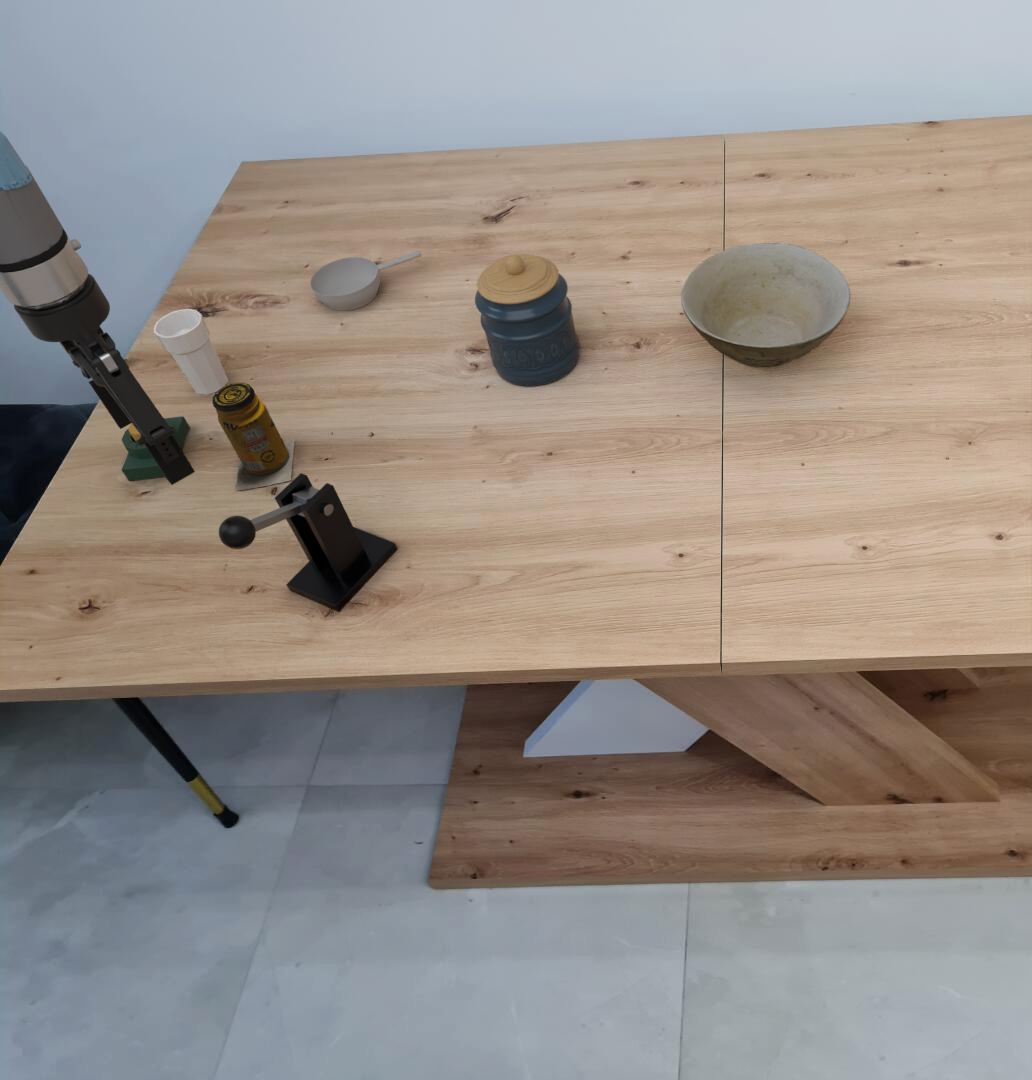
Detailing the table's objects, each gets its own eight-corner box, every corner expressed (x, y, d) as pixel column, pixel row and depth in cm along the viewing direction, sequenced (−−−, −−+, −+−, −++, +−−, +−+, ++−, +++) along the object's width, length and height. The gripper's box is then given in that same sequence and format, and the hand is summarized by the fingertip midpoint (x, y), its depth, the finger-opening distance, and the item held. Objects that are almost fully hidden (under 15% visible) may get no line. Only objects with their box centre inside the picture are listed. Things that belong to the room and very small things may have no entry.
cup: (179, 388, 156) (144, 328, 148) (215, 364, 159) (182, 304, 151) (206, 403, 153) (172, 342, 145) (242, 378, 157) (211, 317, 149)
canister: (570, 324, 160) (548, 221, 147) (590, 374, 152) (569, 270, 138) (487, 345, 158) (457, 243, 145) (502, 397, 149) (472, 293, 136)
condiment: (294, 440, 146) (260, 372, 138) (291, 481, 141) (255, 413, 132) (241, 450, 146) (204, 383, 137) (236, 492, 140) (196, 425, 131)
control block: (174, 475, 143) (161, 454, 140) (127, 481, 143) (112, 460, 140) (192, 427, 150) (179, 406, 147) (146, 432, 150) (132, 411, 147)
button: (157, 442, 143) (151, 432, 141) (131, 445, 143) (125, 435, 141) (164, 424, 145) (158, 414, 144) (138, 427, 145) (132, 418, 144)
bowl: (881, 359, 149) (885, 301, 142) (737, 421, 143) (732, 363, 135) (794, 280, 164) (793, 223, 156) (659, 333, 157) (651, 276, 150)
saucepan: (312, 287, 172) (304, 267, 169) (419, 256, 176) (413, 236, 173) (323, 322, 165) (315, 301, 162) (435, 288, 169) (428, 268, 166)
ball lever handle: (236, 558, 111) (234, 528, 109) (212, 548, 112) (209, 518, 111) (331, 517, 122) (329, 488, 120) (308, 507, 123) (306, 480, 121)
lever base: (339, 612, 125) (296, 534, 115) (289, 590, 128) (243, 513, 117) (397, 549, 131) (362, 470, 121) (349, 529, 134) (310, 451, 124)
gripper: (142, 320, 96) (237, 482, 112) (42, 227, 109) (140, 384, 125) (62, 359, 93) (172, 521, 109) (-31, 258, 106) (79, 416, 122)
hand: (155, 448), depth 117 cm, fingers open, 13 cm apart
